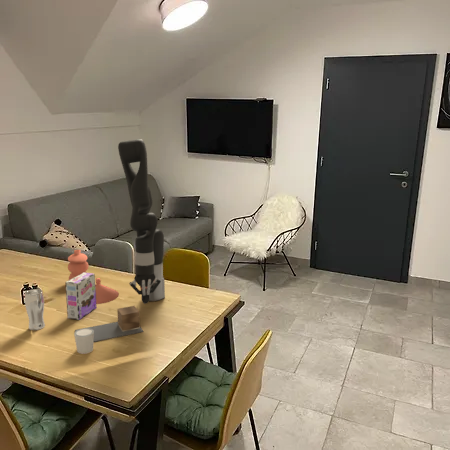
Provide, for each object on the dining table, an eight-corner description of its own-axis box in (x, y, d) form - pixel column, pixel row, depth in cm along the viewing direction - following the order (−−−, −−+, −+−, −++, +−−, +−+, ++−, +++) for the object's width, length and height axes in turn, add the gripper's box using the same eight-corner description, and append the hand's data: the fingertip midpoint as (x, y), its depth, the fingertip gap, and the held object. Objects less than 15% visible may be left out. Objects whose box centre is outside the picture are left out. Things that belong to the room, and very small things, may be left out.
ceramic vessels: (130, 297, 213) (128, 259, 209) (89, 309, 198) (87, 268, 194) (93, 279, 237) (91, 244, 233) (55, 288, 223) (52, 252, 219)
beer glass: (49, 324, 182) (47, 290, 179) (37, 332, 176) (34, 296, 173) (36, 322, 185) (33, 288, 181) (23, 329, 178) (20, 293, 175)
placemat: (133, 319, 188) (133, 318, 188) (143, 331, 177) (143, 330, 177) (74, 330, 177) (74, 329, 177) (81, 344, 166) (81, 343, 166)
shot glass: (77, 345, 166) (76, 328, 164) (96, 345, 166) (95, 327, 165) (73, 354, 159) (72, 336, 157) (92, 354, 159) (91, 336, 158)
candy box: (79, 320, 187) (76, 283, 183) (67, 318, 188) (64, 281, 185) (97, 307, 200) (95, 272, 196) (85, 306, 201) (83, 271, 198)
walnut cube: (134, 321, 185) (134, 305, 184) (139, 328, 179) (139, 311, 178) (118, 324, 182) (117, 308, 181) (122, 331, 176) (121, 315, 175)
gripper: (157, 258, 185) (158, 297, 188) (125, 261, 179) (127, 302, 183) (163, 262, 178) (163, 303, 182) (130, 266, 173) (131, 308, 176)
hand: (145, 303), depth 182 cm, fingers closed
